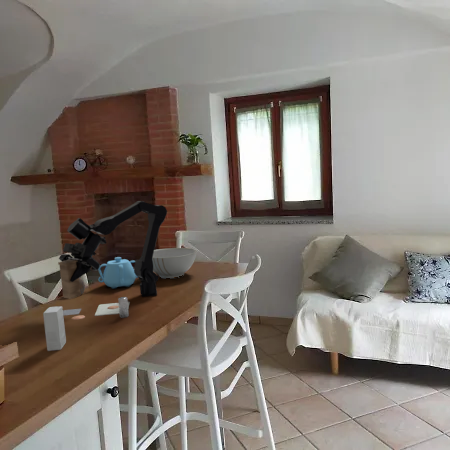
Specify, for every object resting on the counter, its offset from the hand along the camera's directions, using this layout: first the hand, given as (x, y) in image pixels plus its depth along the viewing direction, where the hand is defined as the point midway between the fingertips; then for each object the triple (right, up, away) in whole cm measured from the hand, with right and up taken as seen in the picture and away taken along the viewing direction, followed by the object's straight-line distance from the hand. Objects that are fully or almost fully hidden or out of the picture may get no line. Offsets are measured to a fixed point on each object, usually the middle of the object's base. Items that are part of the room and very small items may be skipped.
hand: (67, 280), depth 167 cm
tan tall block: (+1, -6, +2) cm, 7 cm away
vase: (-7, -10, +32) cm, 35 cm away
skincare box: (+7, -17, -30) cm, 35 cm away
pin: (+22, -13, -3) cm, 26 cm away
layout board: (+10, -13, +5) cm, 17 cm away
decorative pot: (+9, -8, +45) cm, 47 cm away
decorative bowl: (+32, -5, +59) cm, 68 cm away
